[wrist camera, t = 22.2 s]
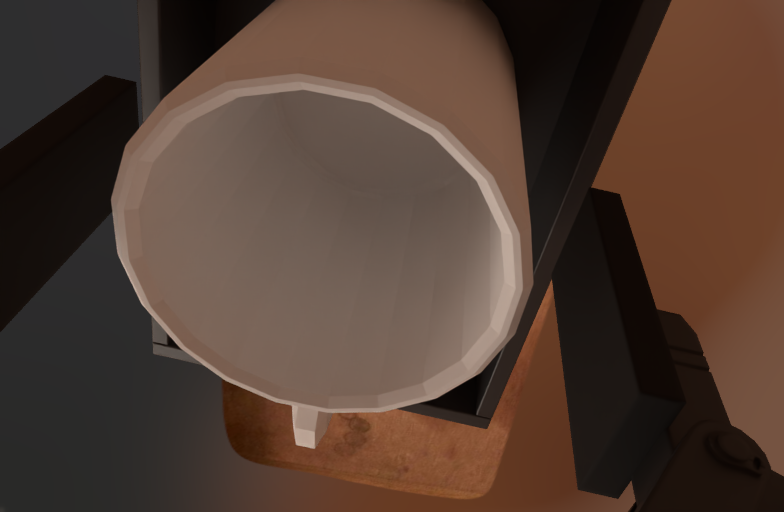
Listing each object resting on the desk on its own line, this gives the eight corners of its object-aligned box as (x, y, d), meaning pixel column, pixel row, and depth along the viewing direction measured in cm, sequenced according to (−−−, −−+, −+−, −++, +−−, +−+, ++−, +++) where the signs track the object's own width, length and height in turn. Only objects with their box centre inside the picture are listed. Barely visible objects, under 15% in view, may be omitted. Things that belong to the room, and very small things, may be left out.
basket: (212, -194, 17) (126, -197, 13) (649, -93, 17) (700, -64, 13) (203, 271, 27) (152, 354, 22) (487, 336, 27) (487, 430, 23)
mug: (253, 264, 25) (141, 481, 17) (265, -74, 18) (82, 18, 10) (456, 305, 25) (440, 542, 17) (547, -19, 18) (597, 119, 10)
